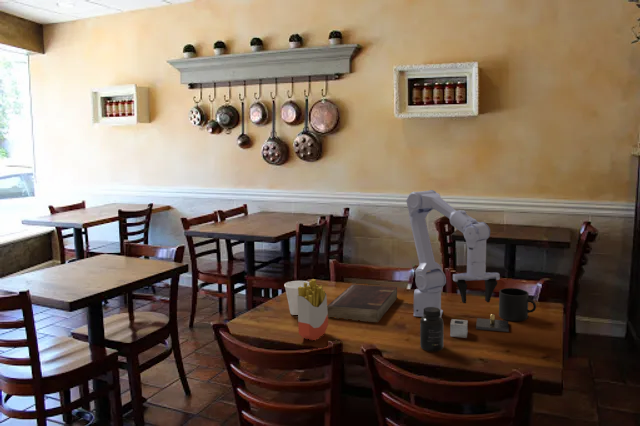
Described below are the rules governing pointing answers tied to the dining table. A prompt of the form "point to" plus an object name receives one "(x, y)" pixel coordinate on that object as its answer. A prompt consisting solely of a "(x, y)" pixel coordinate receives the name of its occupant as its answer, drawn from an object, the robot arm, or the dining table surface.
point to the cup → (293, 294)
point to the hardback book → (363, 302)
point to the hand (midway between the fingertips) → (475, 301)
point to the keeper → (492, 324)
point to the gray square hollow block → (459, 328)
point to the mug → (514, 304)
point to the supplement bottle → (431, 330)
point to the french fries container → (312, 311)
